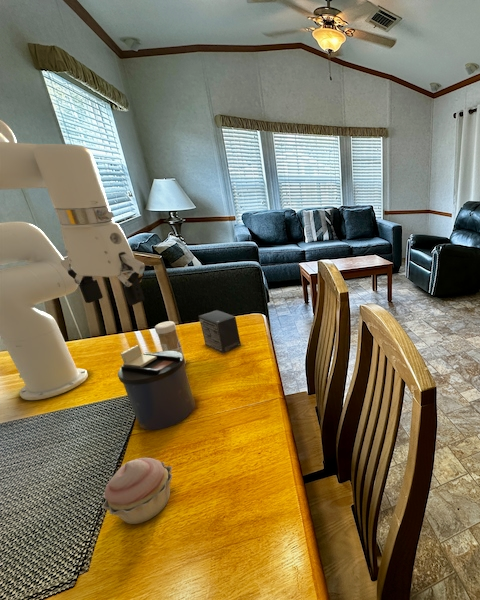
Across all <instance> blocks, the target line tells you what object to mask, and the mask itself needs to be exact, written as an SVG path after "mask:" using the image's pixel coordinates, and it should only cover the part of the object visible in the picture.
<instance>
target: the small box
mask: <svg viewBox="0 0 480 600" xmlns="http://www.w3.org/2000/svg"><path fill="white" fill-rule="evenodd" d="M197 317H198V320H199V323H200V327H201V332H202V334H203V336H202V337H203V340H204V345H205V346H206V347H208V348H210V349H212V350H214V351H216V352H218V353H221V354H226V353H229V352H231V351H233V350H235V349H237V348H240V347H241V346H242V343H241V338H240V334H239V327H238V324H237V318H236V316H235V315H232V314H229V313H226V312H224V311H221V310H218V309H216V310H213V311H210V312H207V313H204V314H200V315H198V316H197Z"/></svg>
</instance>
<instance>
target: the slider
mask: <svg viewBox="0 0 480 600" xmlns="http://www.w3.org/2000/svg"><path fill="white" fill-rule="evenodd" d="M120 356H121V359H122V362H123V363H122V365H129V366H136V367H143V366H145V365H147V364H148V363H150V362H152V361H153V360H155V359H157V356H151V355H143V353H142V350H141V347H140V345H136V344H135V345H134V346H132V347H129V348H128V349H126V350H123V351H122V352H120Z"/></svg>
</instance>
